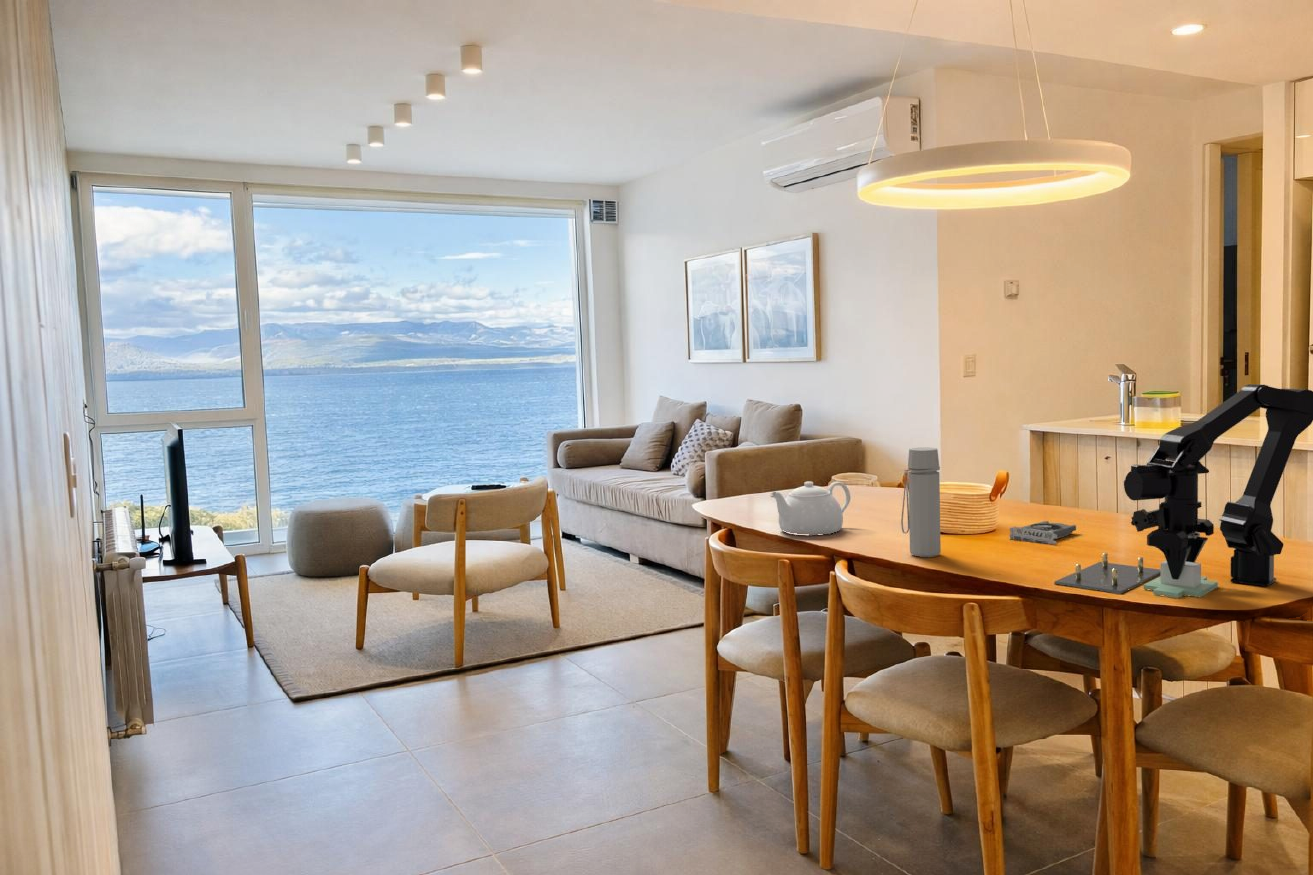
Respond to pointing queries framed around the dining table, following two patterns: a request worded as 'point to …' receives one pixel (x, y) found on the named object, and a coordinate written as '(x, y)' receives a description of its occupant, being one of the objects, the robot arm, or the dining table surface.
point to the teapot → (811, 509)
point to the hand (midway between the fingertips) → (1180, 576)
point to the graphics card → (1041, 532)
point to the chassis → (1109, 576)
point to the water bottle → (923, 502)
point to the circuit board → (1179, 589)
